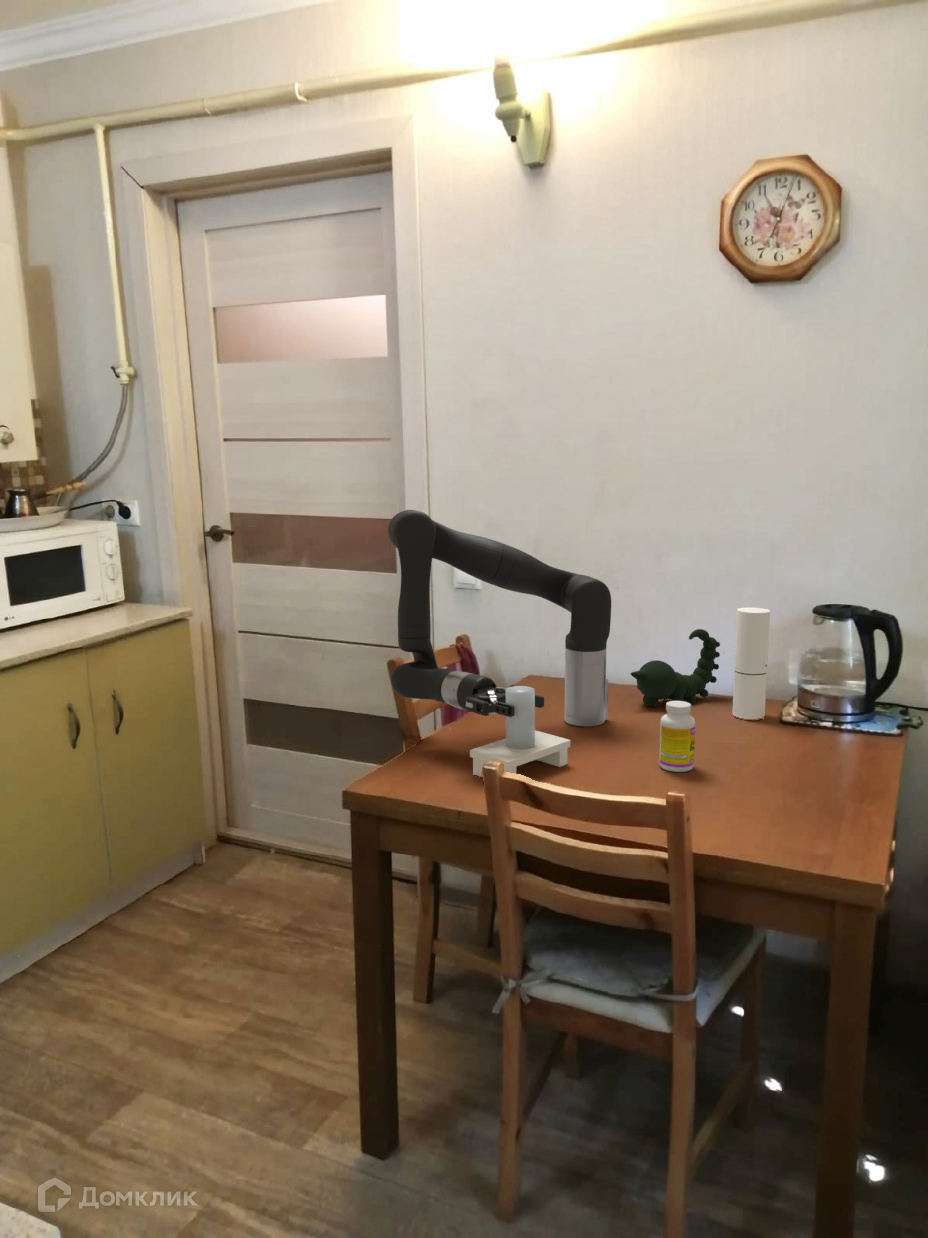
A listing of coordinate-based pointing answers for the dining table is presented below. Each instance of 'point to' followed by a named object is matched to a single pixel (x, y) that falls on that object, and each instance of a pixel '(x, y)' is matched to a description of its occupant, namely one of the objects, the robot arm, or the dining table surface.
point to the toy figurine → (678, 675)
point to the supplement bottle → (677, 737)
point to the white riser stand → (522, 753)
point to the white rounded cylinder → (521, 717)
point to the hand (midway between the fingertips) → (528, 707)
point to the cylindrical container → (751, 662)
